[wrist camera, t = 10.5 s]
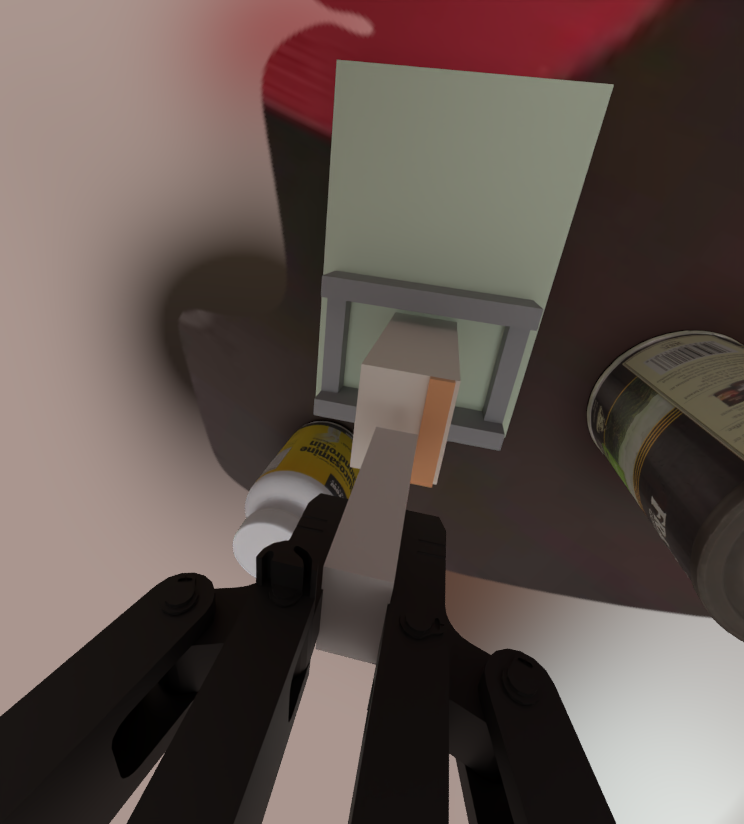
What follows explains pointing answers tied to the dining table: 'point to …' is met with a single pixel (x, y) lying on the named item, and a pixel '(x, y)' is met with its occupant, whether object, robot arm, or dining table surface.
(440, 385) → the white orange rectangular block
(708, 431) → the coffee can
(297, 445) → the pill bottle
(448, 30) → the dining table surface
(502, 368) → the board
